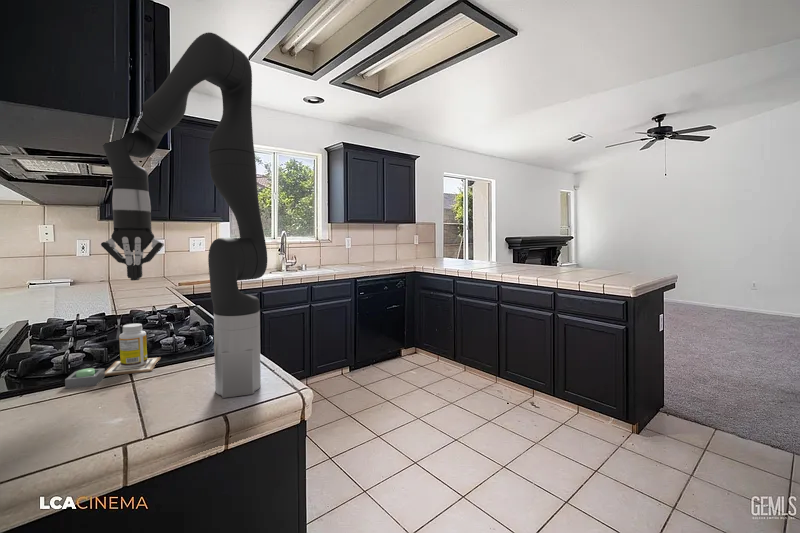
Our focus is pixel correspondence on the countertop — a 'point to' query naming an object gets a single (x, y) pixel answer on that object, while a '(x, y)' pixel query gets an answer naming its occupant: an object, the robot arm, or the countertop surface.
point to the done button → (85, 372)
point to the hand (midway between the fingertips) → (135, 279)
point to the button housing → (84, 379)
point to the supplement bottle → (133, 346)
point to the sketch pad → (118, 369)
